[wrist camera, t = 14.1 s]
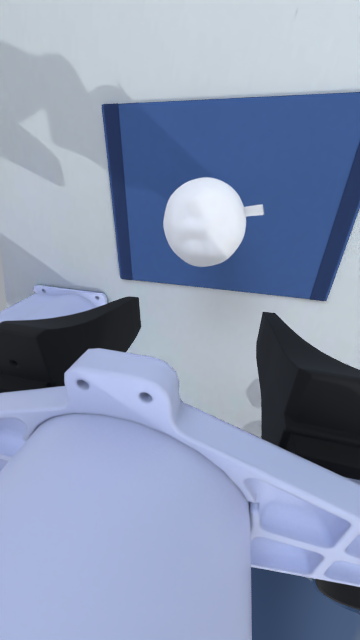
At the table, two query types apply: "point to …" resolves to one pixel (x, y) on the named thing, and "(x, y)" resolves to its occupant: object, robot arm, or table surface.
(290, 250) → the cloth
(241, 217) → the milkshake
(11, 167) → the table surface
